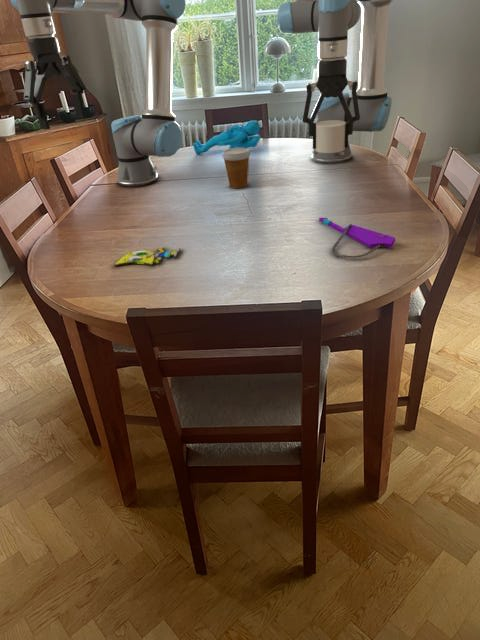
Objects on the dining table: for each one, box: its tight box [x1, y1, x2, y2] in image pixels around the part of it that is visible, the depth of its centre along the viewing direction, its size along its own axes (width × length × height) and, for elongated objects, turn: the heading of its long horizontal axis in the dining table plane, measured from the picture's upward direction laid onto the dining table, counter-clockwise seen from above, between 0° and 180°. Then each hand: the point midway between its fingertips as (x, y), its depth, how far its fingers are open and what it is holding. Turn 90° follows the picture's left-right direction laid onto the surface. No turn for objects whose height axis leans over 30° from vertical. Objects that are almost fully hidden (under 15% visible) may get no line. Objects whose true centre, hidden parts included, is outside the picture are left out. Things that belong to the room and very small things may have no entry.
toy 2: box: [114, 247, 181, 267], centre depth 124 cm, size 10×1×15 cm
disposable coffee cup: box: [222, 148, 251, 189], centre depth 166 cm, size 10×10×12 cm
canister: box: [315, 120, 346, 153], centre depth 138 cm, size 8×8×7 cm
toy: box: [192, 120, 261, 155], centre depth 208 cm, size 17×11×30 cm
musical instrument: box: [318, 217, 396, 259], centre depth 123 cm, size 24×2×20 cm
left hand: (64, 123), depth 136 cm, fingers open, 13 cm apart
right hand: (330, 147), depth 139 cm, fingers closed on canister, 8 cm apart
